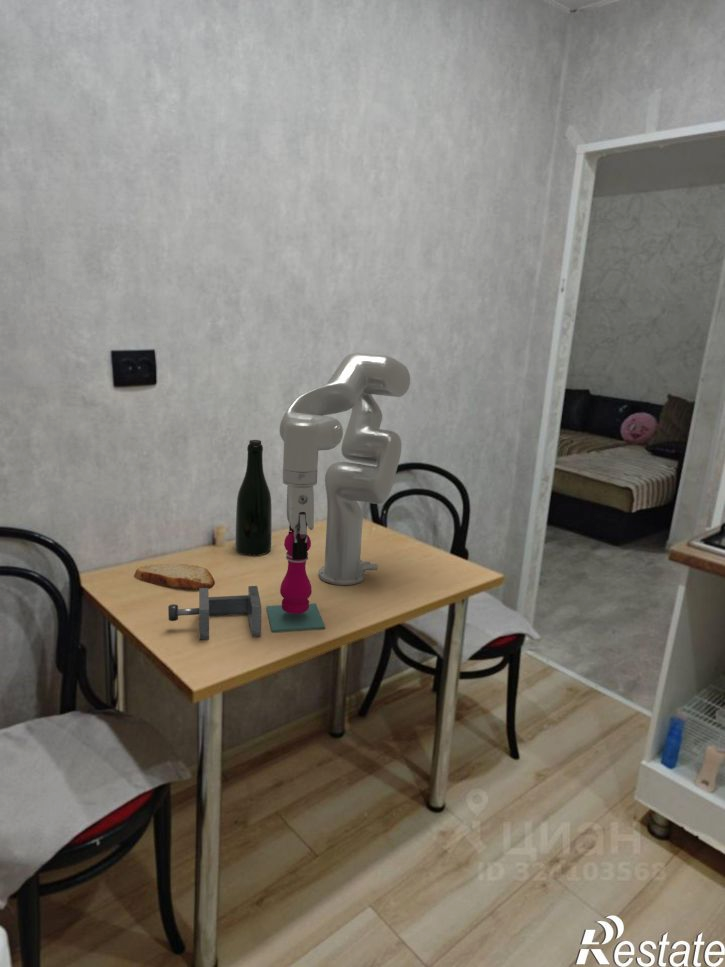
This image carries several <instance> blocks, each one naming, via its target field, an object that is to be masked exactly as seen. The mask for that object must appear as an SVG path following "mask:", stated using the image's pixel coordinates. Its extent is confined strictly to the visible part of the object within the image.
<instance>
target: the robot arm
mask: <svg viewBox="0 0 725 967" xmlns="http://www.w3.org/2000/svg"><path fill="white" fill-rule="evenodd" d="M410 384H411V374H410V370H409V369H408V367H407V366H406V365H405V364H403V363H402V362H400V361H399V360H397V359H395V358H393V357H392V356H389V355H384V354H374V353H373V354H371V353H360V352H357V353H356V352H355V353H354V352H353V353H351V354H348V355H347V356H345V357H344V358H343V359H342V360H341V362H340V363H339V364H338V367H337V368H336V370H335V371H334V373H333V374H332V375H331V377H330V378H329V380H328V381H327V382H326V384H323V385H319V386H318V387H316V388H314V389H312V390H309V391H307V392H305V393H303V394H301V395H299V396H298V397H296V399H294V401H293V402H292V403H291V404H290V406H289V407H288V408H287V410H286V412H285V413H284V415H283V417H282V418H281V421H280V424H279V436H280V438H281V439H282V441H283V454H282V455H283V459H282V460H283V461H282V462H283V463H282V465H283V466H282V483H283V484H284V485H286V487H287V490H286V492H287V493H286V517H287V521H288V523H289V524H288V525H289V526H288V529H289V531H288V534H290V533H292V532H294V542H293V547H292V559H293V560H302V559H307V552H308V551H307V535H308V529H309V530H310V531H313V530H314V526H315V519H314V518H315V504H314V503H315V499H314V498H315V495H314V486H316V485H317V484H318V468H319V451H329V450H333V449H335V448H336V447H337V446H339V445H340V443H341V441H342V443H341V455H342V456H343V458H345V459H346V460H348V461H351V462H348V461H347V462H346V461H338V462H334V463H332V464H330V465H329V466H328V468H327V469H326V471H325V475H324V487H325V492H326V508H327V510H326V530H325V531H326V532H325V550H324V566H322V567H320V569H318V578H319V579H320V580H322V581H323V582H325V583H329V584H332V585H336V586H337V585H338V586H349V585H356V584H359V583H361V582H363V581H364V580H365V576H366V572H368V571H370V572H372V571H373V572H374V571H377V570H378V564H377V563H371V561H370V560H365V561H362V560H361V552H362V536H363V535H362V534H363V519H364V517H363V511H362V509H361V506H360V504H359V502H361V503H369V504H373V505H374V504H376V505H380V504H381V505H382V504H384V503H386V502H387V500H388V499H389V497H390V494H391V491H392V488H393V484H394V480H395V478H396V474H397V470H398V468H399V463H400V459H401V456H402V439H401V437H400V435H399V434H398V432H396V431H392V430H388V429H381V428H380V427H381V424H382V421H383V413H382V410H381V408H380V406H379V404H378V403H377V401H376V399H374V397H373V395H374V396H375V395H377V396H384V397H396V398H400V397H403V396H404V395H405V394H407V392H408V390H409V388H410V386H411V385H410ZM350 410H351V413H350V417H349V420H348V423H347V426H346V429H345V433H344V430H343V429H344V428H343V425H342V424H341V422H340V421H339V420H338V419H337V418H335V417H332V416H329V415H334V414H339V413H343V412H348V411H350ZM343 436H344V437H343ZM366 464H367V465H366ZM296 526H300V529H296ZM298 531H300V532H299V533H300V534H298V535H297V532H298Z"/></svg>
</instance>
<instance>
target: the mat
mask: <svg viewBox="0 0 725 967" xmlns="http://www.w3.org/2000/svg"><path fill="white" fill-rule="evenodd" d="M265 608H266V614H267V617H268V622H269V626H270V629H271V630H270V631H271V633H279V632H281V631H283V632H295V631H294V630H299V631H311V630H310V629H316V630H322V629H321V628H325V629H326V625H325V622H324V620H323V618H322V615H321V612H320V610H319V608H318V604H317V603H309V609H308V610H307V611H306V612H304V613H299V614H292V613H287V612H285V611H284V610H283V609H282V604H278V605H277V604H275V605H266V606H265Z"/></svg>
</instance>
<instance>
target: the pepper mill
mask: <svg viewBox="0 0 725 967" xmlns="http://www.w3.org/2000/svg"><path fill="white" fill-rule="evenodd" d="M296 529H300V526H296ZM291 532H292V531H291ZM299 532H300V531H298V532H297V535H298V534H300V533H299ZM293 542H294V532H292V533H290V534H289V533H288V534H287V535H286V537H285V538H284V543H283V547H284V549H285V550H286V552H285V554H286V556H285V560H287V571H286V573H285V576H284V578H283V580H282V582H281V584H280V587H279V588H280V589H279V593H280V596H281V597H282V600H281V605H282V609H283V610H284V611H285V612H287V613H292V614H299V613H304V612H306V611H307V610H308V609H309V604H310V600H309V599H310V597H311V595H312V593H313V592H312V591H313V589H312V584H311V581H310V580H309V579H310V578H309V577H308V574H307V570H306V569H307V568H306V564H307V561H308V560H309V553H308V551H310V550H311V546H312V540H311V538H310V536H309V535H308V534H307V559H302V560H293V559H292V547H293Z"/></svg>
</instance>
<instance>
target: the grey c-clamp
mask: <svg viewBox="0 0 725 967" xmlns="http://www.w3.org/2000/svg"><path fill="white" fill-rule="evenodd" d="M198 593H199V594H198V595H199V599H198V600H199V602H198V603H199V604H198V607H197V608H195V607H194V608H191V607H190V608H179V605H178V604H176V603H175V604H170V605H168V606H167V607H168V611H167V612H168V621H170V622H176V621H178V620H179V616H196V615H197V616H198V618H199V619H198V620H199V621H198V622H199V623H198V624H199V629H198V630H199V631H198V633H199V635H198V637H199V639H198V640H199V641H202V640H203V641H207V640H210V617H214V616H215V617H216V616H217V617H218V616H233V615H234V616H235V615H247V616H248V622H249V628H250V630H249V631H250V635H251V638H252V637H254V636H255V637H262V602H261V597H260V592H259V587H258V585H248V593H247V595H228V596H227V595H225V596H209V589H208V588H199V590H198Z"/></svg>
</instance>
